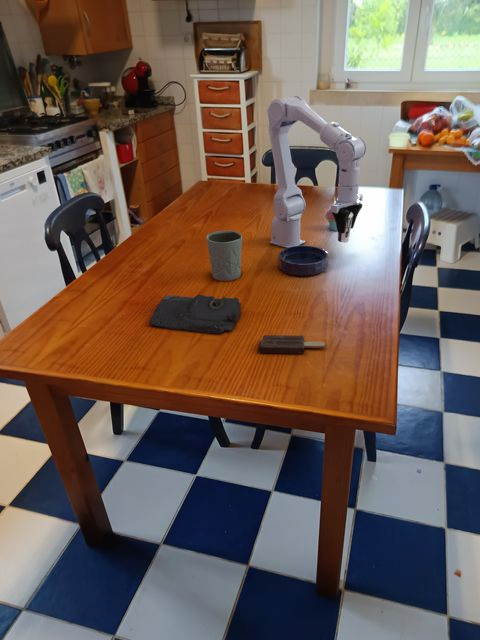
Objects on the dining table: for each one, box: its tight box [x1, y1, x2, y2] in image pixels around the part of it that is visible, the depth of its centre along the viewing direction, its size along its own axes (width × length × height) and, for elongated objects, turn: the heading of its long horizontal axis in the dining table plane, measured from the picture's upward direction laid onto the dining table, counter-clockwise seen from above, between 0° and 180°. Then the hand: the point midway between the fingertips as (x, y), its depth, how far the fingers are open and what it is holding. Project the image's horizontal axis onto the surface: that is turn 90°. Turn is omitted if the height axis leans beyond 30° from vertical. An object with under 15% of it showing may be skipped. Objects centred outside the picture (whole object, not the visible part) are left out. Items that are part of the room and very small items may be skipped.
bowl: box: [278, 245, 329, 277], centre depth 147 cm, size 15×15×4 cm
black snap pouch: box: [149, 294, 242, 335], centre depth 123 cm, size 15×22×5 cm
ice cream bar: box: [258, 334, 326, 355], centre depth 110 cm, size 5×2×15 cm
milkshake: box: [337, 210, 356, 244], centre depth 145 cm, size 4×5×10 cm
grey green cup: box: [205, 230, 243, 282], centre depth 141 cm, size 10×10×12 cm
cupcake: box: [325, 195, 337, 231], centre depth 172 cm, size 9×8×12 cm
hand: (345, 230), depth 146 cm, fingers closed on milkshake, 4 cm apart
